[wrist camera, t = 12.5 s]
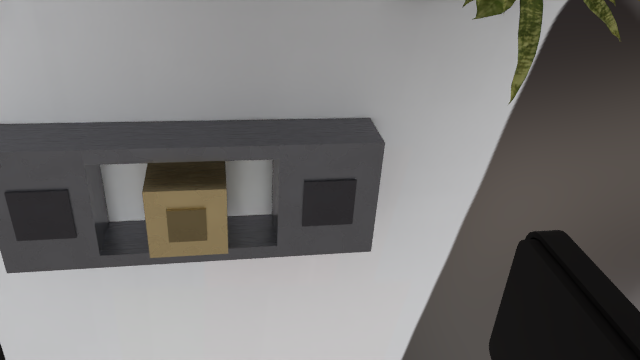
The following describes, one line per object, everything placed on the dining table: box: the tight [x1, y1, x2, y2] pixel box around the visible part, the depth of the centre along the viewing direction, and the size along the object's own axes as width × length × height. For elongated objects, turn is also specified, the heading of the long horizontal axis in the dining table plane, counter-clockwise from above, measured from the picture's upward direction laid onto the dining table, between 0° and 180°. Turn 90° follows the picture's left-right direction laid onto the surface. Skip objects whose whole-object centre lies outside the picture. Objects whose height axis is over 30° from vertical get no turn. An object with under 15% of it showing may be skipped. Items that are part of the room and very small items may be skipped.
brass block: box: [142, 161, 228, 258], centre depth 38 cm, size 5×5×6 cm
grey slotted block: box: [0, 118, 385, 273], centre depth 38 cm, size 25×9×4 cm, turn 88°
